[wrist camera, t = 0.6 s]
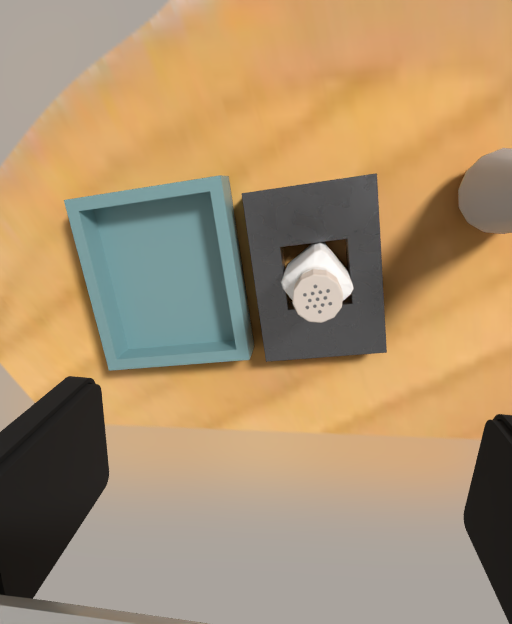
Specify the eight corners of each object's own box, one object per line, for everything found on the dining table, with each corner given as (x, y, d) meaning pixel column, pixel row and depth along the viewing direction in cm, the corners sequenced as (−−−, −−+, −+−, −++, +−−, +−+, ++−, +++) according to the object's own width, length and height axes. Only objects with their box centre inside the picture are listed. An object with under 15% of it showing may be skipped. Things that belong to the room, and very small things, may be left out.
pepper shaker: (313, 301, 35) (313, 341, 26) (283, 266, 35) (272, 295, 26) (350, 271, 34) (363, 303, 25) (319, 235, 34) (322, 254, 25)
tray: (228, 176, 33) (220, 175, 30) (254, 346, 37) (249, 359, 34) (84, 199, 35) (64, 200, 32) (123, 357, 39) (109, 370, 37)
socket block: (372, 174, 32) (376, 173, 29) (381, 341, 35) (386, 352, 33) (246, 192, 33) (241, 193, 31) (269, 350, 37) (266, 361, 35)
